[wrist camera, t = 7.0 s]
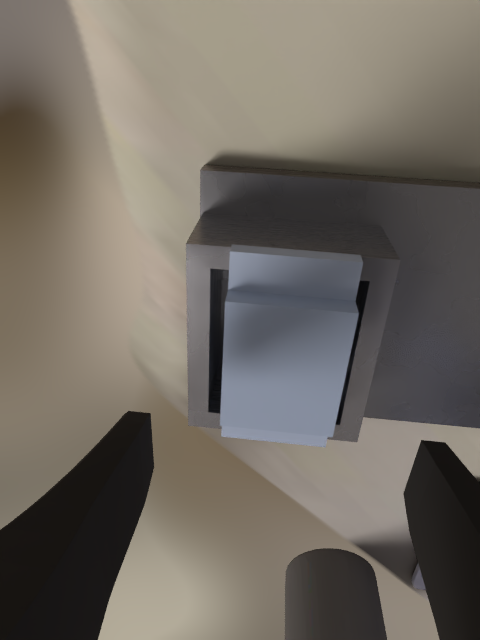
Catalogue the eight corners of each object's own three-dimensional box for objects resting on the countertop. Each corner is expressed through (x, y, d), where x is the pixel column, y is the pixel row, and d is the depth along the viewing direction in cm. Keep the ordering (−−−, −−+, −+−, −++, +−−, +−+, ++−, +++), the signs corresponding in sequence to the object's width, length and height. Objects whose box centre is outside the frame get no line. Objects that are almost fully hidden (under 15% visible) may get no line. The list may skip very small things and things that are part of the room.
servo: (317, 385, 21) (325, 469, 17) (232, 377, 21) (218, 457, 17) (347, 219, 17) (367, 273, 13) (241, 211, 17) (226, 261, 13)
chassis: (505, 417, 22) (550, 490, 19) (202, 388, 23) (186, 453, 19) (606, 191, 17) (700, 229, 13) (204, 164, 18) (182, 193, 14)
